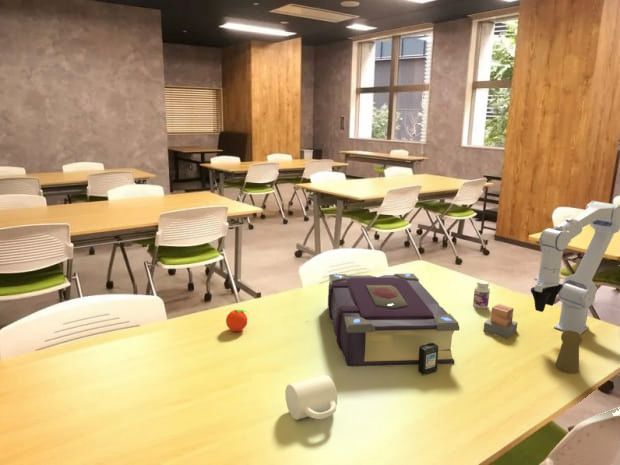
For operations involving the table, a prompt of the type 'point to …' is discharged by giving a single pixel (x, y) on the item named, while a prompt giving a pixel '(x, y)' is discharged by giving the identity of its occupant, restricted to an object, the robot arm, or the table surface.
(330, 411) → the mug
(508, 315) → the terracotta cube
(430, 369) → the ink cartridge
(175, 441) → the table surface
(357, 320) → the book
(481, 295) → the pill bottle
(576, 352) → the cork
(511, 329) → the gray block
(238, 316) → the clementine
